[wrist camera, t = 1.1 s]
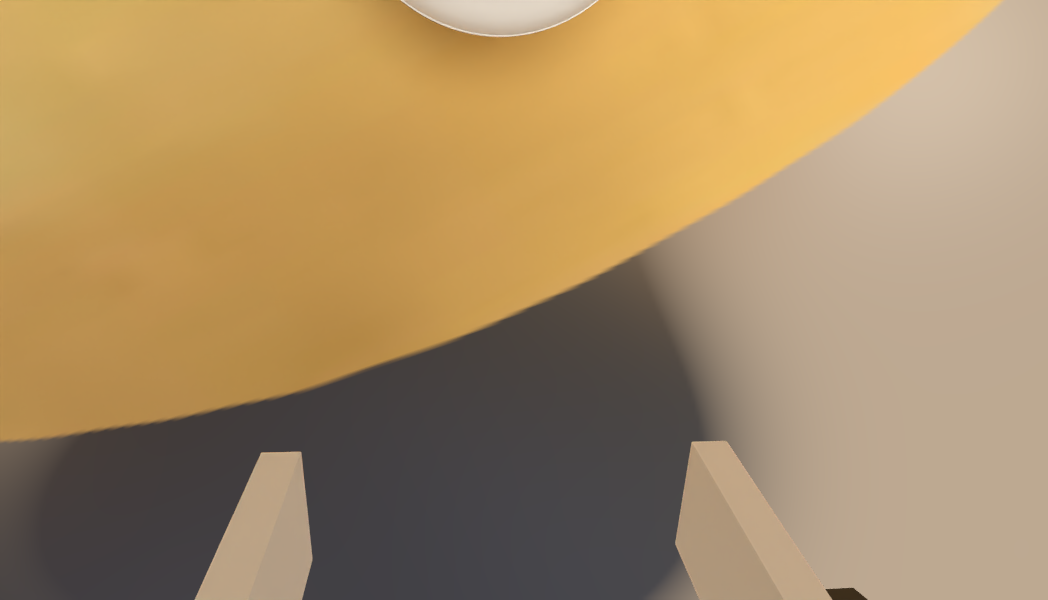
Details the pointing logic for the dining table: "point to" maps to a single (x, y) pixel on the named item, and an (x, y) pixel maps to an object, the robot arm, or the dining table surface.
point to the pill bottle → (499, 14)
